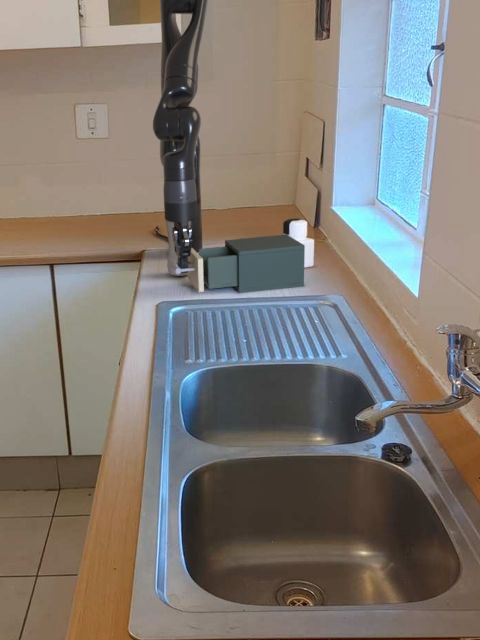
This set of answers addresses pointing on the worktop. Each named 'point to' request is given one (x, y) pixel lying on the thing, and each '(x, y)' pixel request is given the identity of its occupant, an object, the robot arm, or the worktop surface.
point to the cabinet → (268, 262)
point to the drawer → (211, 268)
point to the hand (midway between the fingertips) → (183, 272)
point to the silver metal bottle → (172, 249)
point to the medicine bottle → (300, 238)
